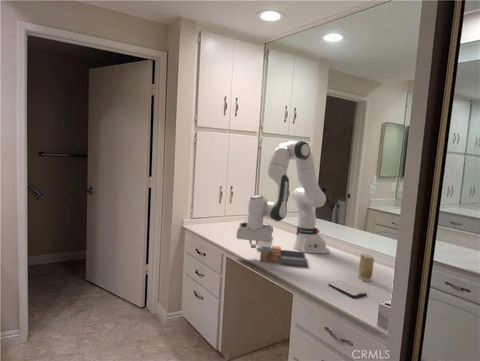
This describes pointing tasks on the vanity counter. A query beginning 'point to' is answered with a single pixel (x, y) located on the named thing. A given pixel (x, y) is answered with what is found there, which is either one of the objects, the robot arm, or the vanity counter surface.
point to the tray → (293, 258)
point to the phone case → (347, 289)
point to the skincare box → (366, 267)
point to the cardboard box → (270, 257)
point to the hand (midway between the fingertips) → (253, 247)
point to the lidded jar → (264, 243)
